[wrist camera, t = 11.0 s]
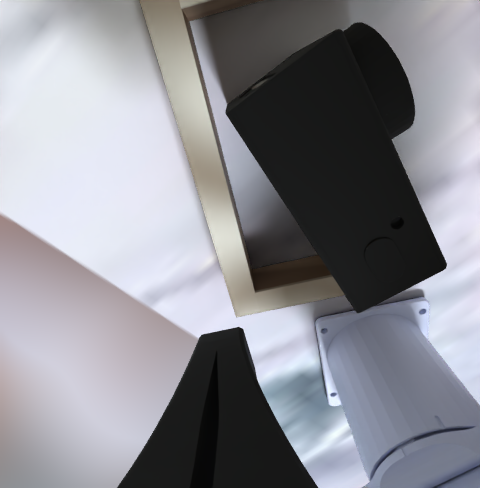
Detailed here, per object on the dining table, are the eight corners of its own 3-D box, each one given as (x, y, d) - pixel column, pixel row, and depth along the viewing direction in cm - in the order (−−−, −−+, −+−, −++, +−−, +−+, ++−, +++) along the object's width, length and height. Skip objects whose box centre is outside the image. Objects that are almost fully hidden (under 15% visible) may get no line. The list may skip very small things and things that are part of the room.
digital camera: (398, 201, 19) (479, 256, 13) (319, 247, 20) (359, 317, 14) (318, 34, 15) (379, -4, 9) (227, 104, 16) (225, 113, 10)
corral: (396, 257, 21) (418, 280, 18) (235, 291, 22) (236, 317, 19) (392, -82, 13) (428, -119, 11) (147, -9, 14) (130, -30, 12)
